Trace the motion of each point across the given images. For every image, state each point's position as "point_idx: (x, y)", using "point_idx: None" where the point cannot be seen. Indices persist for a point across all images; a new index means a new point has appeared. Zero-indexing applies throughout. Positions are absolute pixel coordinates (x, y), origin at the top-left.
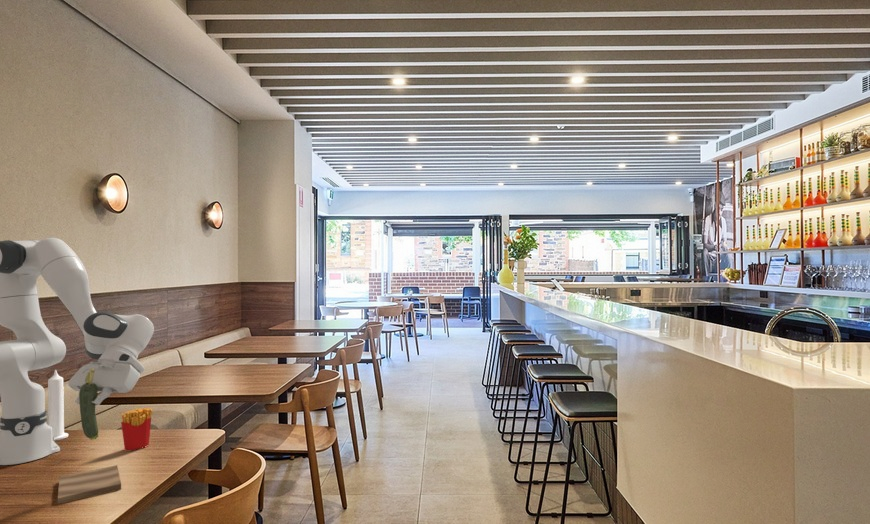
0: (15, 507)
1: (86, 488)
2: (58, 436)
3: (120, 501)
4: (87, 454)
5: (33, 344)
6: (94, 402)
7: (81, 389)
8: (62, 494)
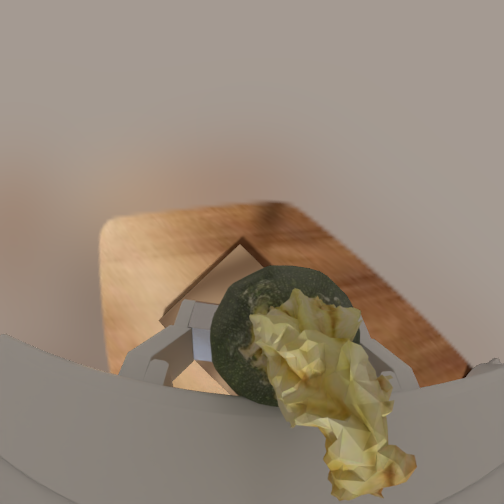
0: (309, 229)
1: (217, 291)
2: None
3: (126, 269)
4: None
5: None
6: (193, 301)
7: (307, 268)
8: (245, 260)
